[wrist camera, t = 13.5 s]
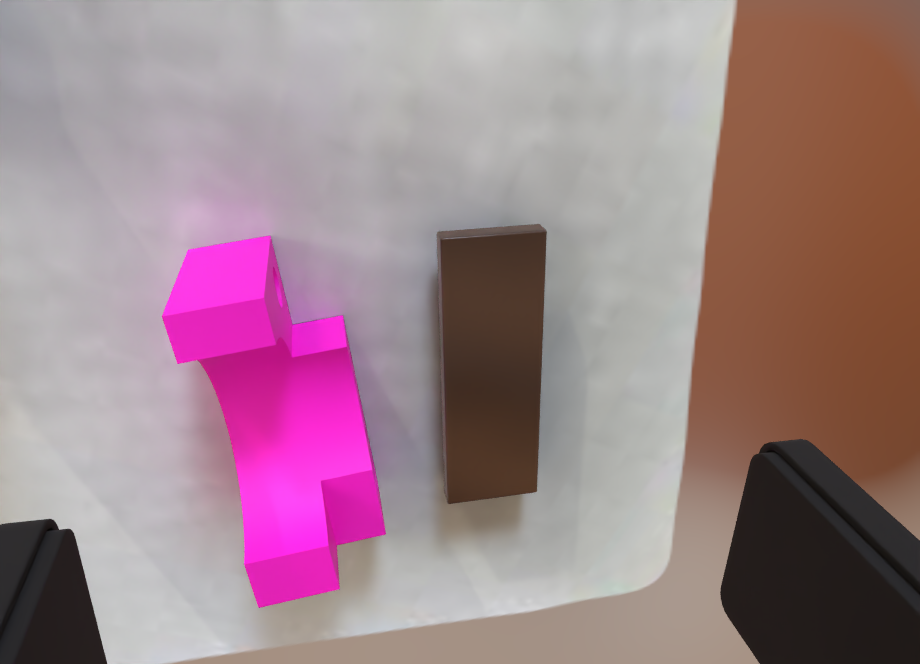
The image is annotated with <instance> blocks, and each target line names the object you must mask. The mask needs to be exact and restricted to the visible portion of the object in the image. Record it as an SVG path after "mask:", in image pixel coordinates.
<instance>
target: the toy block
mask: <svg viewBox="0 0 920 664" xmlns="http://www.w3.org/2000/svg"><path fill="white" fill-rule="evenodd" d="M162 318H163V321H164V324H165V327H166V330H167V333H168V336H169V339H170V342H171V345H172V348H173V351H174V354H175V357H176V360H177V364H179V363H185V362H190V361H195V360H198V361H199V362H200V363H201V365H202V366H203V368H204V369H205V371H206V373H207V374H208V376H209V378H210V380H211V382H212V384H213V387H214V389H215V391H216V394H217V397H218V399H219V402H220V405H221V408H222V411H223V414H224V417H225V421H226V424H227V428H228V432H229V436H230V440H231V444H232V449H233V453H234V458H235V463H236V469H237V474H238V480H239V487H240V494H241V502H242V511H243V523H244V544H245V558H244V565H245V568H246V571H247V574H248V577H249V580H250V583H251V586H252V589H253V592H254V595H255V598H256V601H257V604H258V607H259V608H260V607H265V606H269V605H273V604H278V603H282V602H286V601H290V600H295V599H299V598H303V597H308V596H312V595H316V594H320V593H325V592H329V591H333V590H338V589H340V586H339V572H338V557H337V545H341V544H345V543H349V542H354V541H358V540H363V539H367V538H372V537H376V536H380V535H385V534H386V532H385V526H384V519H383V513H382V507H381V500H380V494H379V487H378V481H377V476H376V471H375V467H374V462H373V457H372V452H371V448H370V443H369V438H368V433H367V429H366V424H365V419H364V414H363V410H362V405H361V400H360V395H359V390H358V386H357V381H356V376H355V371H354V367H353V362H352V357H351V352H350V348H349V343H348V338H347V333H346V329H345V324H344V319H343V315H342V316H337V317H331V318H326V319H321V320H315V321H310V322H305V323H299V324H294V325H292V322H291V317H290V313H289V309H288V305H287V301H286V297H285V293H284V289H283V285H282V281H281V277H280V273H279V269H278V264H277V260H276V256H275V252H274V248H273V244H272V240H271V236H265V237H259V238H253V239H247V240H242V241H236V242H230V243H224V244H219V245H213V246H207V247H201V248H196V249H190V250H188V251H187V254H186V257H185V259H184V262H183V264H182V267H181V269H180V272H179V274H178V277H177V279H176V282H175V284H174V287H173V290H172V292H171V295H170V297H169V300H168V302H167V305H166V307H165V310H164V312H163V315H162Z"/></svg>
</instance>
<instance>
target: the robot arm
mask: <svg viewBox="0 0 920 664" xmlns="http://www.w3.org/2000/svg"><path fill="white" fill-rule="evenodd" d="M720 593H721V600H722V605H723V608H724V611H725V612H726V614H727V616H728V618H729V619H730V621H731V622H732V623H733V625H734V626H735V628H736V629H737V631H738V632H739V634H740V635H741V637H742V638H743V640H744V641H745V642H746V644H747V645H748V647H749V648H750V650H751V651H752V653H753V654H754V656H755V657H756V659H757V660H758V662H759V663H760V664H920V541H919V540H918V539H917V538H916V537H915V536H914V535H913V534H912V533H911V532H909V531H908V530H907V529H906V528H905V527H904V526H903V525H902V524H901V523H899V522H898V521H897V520H896V519H895V518H894V517H893V516H892V515H891V514H889V513H888V512H887V511H886V510H885V509H884V508H883V507H882V506H881V505H879V504H878V503H877V502H876V501H875V500H874V499H873V498H872V497H871V496H869V495H868V494H867V493H866V492H865V491H864V490H863V489H862V488H861V487H860V486H859V485H857V484H856V483H855V482H854V481H853V480H852V479H851V478H850V477H849V476H847V475H846V474H845V473H844V472H843V471H842V470H841V469H840V468H838V466H836V465H835V464H834V463H833V462H832V461H831V460H830V459H829V458H828V457H826V456H825V455H824V454H823V453H822V452H821V451H820V450H819V449H818V448H817V447H815V446H814V445H813V444H812V443H810V442H809V441H807V440H803V439H799V440H789V441H779V442H770V443H767V444H764V445H763V447H762V448H761V449H760V452H759V454H756V455H754V456H753V458H752V459H751V462H750V466H749V470H748V474H747V479H746V483H745V487H744V491H743V496H742V500H741V504H740V509H739V513H738V517H737V521H736V526H735V530H734V534H733V538H732V543H731V547H730V551H729V556H728V560H727V564H726V569H725V572H724V577H723V581H722V585H721V592H720ZM0 664H107V661H106V657H105V653H104V649H103V645H102V641H101V637H100V634H99V630H98V626H97V622H96V618H95V614H94V610H93V606H92V602H91V598H90V594H89V590H88V586H87V582H86V578H85V574H84V570H83V566H82V562H81V558H80V555H79V551H78V547H77V543H76V539H75V536H74V533H73V531H72V530H71V529H62V530H59V529H58V526H57V524H56V522H55V521H54V520H52V519H44V520H35V521H26V522H16V523H7V524H2V525H0Z"/></svg>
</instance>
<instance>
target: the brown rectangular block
mask: <svg viewBox="0 0 920 664" xmlns="http://www.w3.org/2000/svg"><path fill="white" fill-rule="evenodd" d="M546 233H547V232H546V230H545V229H544V228H543V227H542V226H541V225H540V224H534V225H521V226H508V227H494V228H481V229H468V230H455V231H441V232H437V257H438V291H439V325H440V359H441V393H442V427H443V461H444V492H445V496H446V499H447V503H448V504H453V503H460V502H468V501H475V500H482V499H489V498H497V497H504V496H511V495H519V494H526V493H533V492H537V474H538V447H539V420H540V394H541V367H542V340H543V313H544V286H545V259H546Z"/></svg>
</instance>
